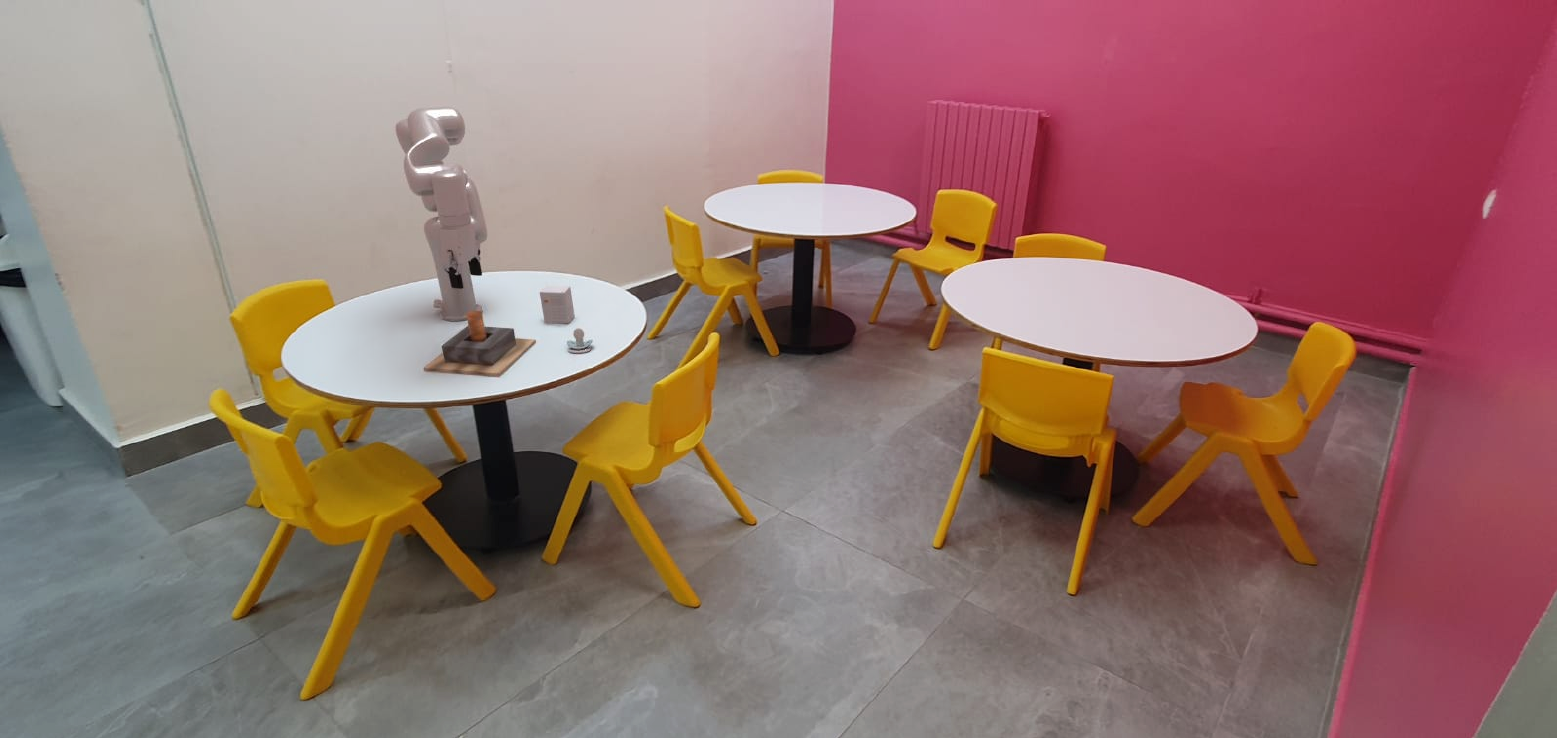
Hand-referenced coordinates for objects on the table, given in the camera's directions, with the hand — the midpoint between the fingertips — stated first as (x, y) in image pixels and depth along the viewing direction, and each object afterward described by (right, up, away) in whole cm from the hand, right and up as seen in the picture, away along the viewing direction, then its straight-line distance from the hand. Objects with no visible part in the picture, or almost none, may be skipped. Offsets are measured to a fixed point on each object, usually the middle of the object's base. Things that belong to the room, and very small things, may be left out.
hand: (467, 281), depth 200 cm
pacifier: (+27, -18, +14) cm, 35 cm away
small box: (+15, -8, +33) cm, 37 cm away
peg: (0, -19, +9) cm, 21 cm away
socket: (0, -20, +10) cm, 22 cm away
